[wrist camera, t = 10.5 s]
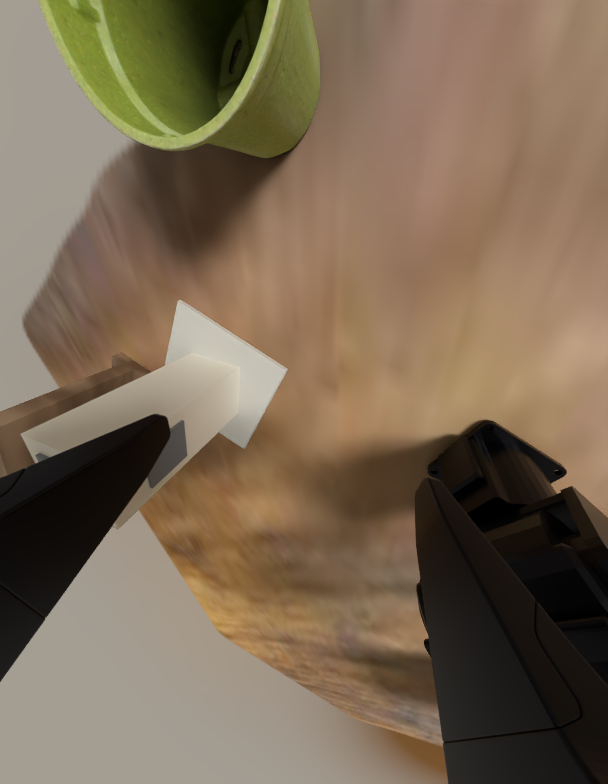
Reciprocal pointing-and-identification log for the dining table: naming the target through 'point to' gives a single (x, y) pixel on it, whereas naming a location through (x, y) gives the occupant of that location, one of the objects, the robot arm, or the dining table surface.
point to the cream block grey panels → (146, 397)
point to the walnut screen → (57, 409)
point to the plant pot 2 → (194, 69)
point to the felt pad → (223, 346)
